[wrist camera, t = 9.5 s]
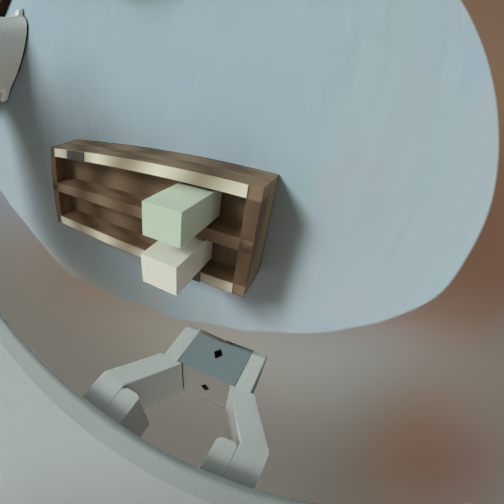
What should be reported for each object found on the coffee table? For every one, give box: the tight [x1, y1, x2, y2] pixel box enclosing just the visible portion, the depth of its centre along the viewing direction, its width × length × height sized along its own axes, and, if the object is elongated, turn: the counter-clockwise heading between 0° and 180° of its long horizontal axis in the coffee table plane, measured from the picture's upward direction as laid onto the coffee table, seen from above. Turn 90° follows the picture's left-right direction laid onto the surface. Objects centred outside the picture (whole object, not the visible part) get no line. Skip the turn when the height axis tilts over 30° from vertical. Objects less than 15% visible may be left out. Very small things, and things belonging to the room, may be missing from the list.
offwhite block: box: [141, 236, 213, 296], centre depth 21 cm, size 3×2×6 cm
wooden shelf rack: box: [51, 140, 279, 297], centre depth 23 cm, size 24×9×4 cm, turn 81°
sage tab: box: [142, 182, 222, 248], centre depth 18 cm, size 3×2×6 cm
